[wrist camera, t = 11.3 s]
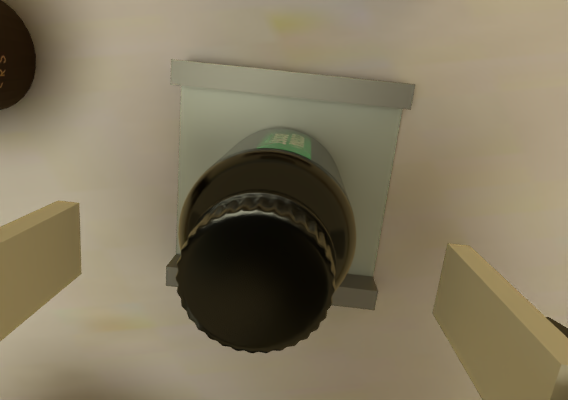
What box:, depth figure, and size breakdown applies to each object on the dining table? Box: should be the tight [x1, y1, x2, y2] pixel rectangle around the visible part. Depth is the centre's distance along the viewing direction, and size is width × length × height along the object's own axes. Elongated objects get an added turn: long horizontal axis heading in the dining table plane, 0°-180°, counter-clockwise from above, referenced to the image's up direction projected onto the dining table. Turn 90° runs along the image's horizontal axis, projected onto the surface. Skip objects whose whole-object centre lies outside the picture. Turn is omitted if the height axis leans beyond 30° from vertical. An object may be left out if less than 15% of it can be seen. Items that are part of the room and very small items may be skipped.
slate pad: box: [166, 59, 415, 310], centre depth 23 cm, size 12×12×2 cm
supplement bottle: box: [176, 128, 356, 353], centre depth 18 cm, size 7×7×12 cm
